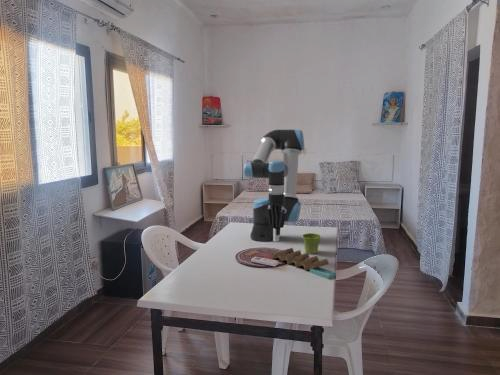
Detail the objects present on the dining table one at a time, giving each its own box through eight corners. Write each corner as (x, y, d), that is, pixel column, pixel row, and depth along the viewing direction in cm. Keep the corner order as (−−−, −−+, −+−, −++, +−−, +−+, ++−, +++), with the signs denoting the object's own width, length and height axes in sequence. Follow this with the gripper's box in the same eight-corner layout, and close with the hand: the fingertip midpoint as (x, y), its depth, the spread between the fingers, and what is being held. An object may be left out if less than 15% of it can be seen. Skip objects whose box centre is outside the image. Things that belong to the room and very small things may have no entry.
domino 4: (294, 262, 172) (310, 258, 164) (301, 259, 175) (317, 255, 168) (295, 267, 171) (311, 263, 164) (302, 264, 175) (318, 260, 167)
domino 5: (303, 265, 168) (320, 261, 161) (309, 262, 171) (327, 258, 164) (304, 270, 167) (322, 266, 160) (311, 267, 171) (328, 263, 164)
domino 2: (278, 257, 179) (292, 252, 171) (286, 254, 182) (300, 250, 175) (280, 261, 178) (294, 257, 171) (287, 259, 181) (301, 254, 174)
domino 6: (309, 269, 165) (328, 275, 157) (317, 266, 168) (335, 272, 160) (309, 273, 165) (328, 280, 157) (316, 270, 168) (335, 277, 161)
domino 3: (286, 259, 175) (300, 255, 168) (293, 257, 179) (308, 252, 171) (287, 264, 175) (302, 259, 168) (294, 261, 178) (309, 257, 171)
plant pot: (319, 256, 186) (319, 239, 184) (300, 254, 189) (300, 237, 187) (321, 250, 194) (322, 234, 193) (303, 248, 198) (304, 232, 196)
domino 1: (271, 254, 182) (285, 249, 175) (279, 252, 186) (292, 247, 178) (273, 259, 182) (286, 254, 175) (280, 256, 185) (294, 252, 178)
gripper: (261, 192, 182) (261, 239, 185) (280, 196, 172) (280, 245, 176) (272, 190, 186) (272, 236, 190) (291, 194, 177) (291, 242, 180)
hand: (276, 240), depth 183 cm, fingers closed
